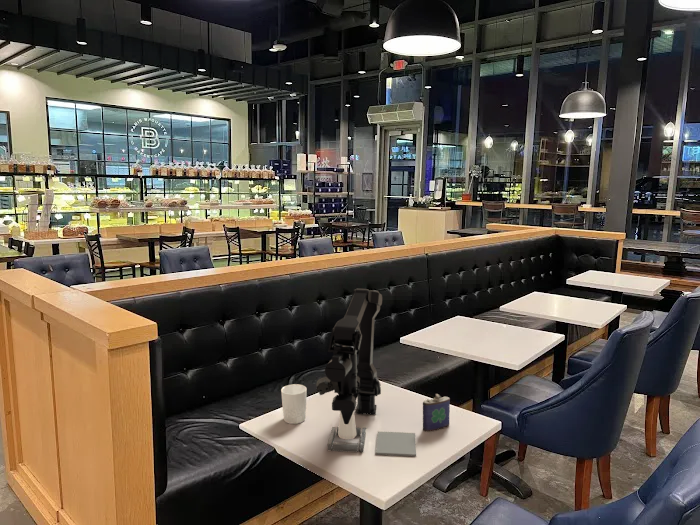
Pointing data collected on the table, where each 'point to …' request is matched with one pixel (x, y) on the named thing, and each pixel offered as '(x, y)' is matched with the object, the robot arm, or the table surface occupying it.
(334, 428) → the holder
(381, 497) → the table surface
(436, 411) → the flask
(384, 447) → the mat
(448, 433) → the table surface
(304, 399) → the white cup
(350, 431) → the pepper shaker
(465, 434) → the table surface
